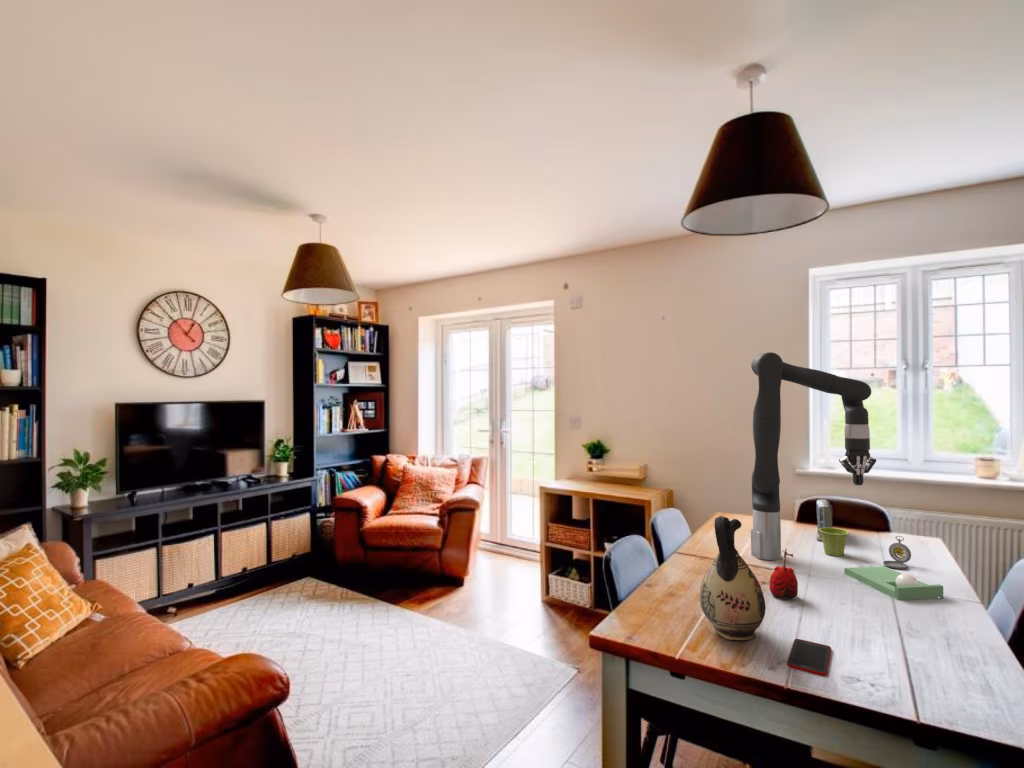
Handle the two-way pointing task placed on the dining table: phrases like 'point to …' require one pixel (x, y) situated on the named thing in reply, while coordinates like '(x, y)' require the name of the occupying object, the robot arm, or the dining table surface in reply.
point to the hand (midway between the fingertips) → (858, 484)
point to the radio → (823, 516)
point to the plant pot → (834, 540)
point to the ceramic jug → (731, 588)
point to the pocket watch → (899, 550)
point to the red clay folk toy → (784, 581)
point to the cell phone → (809, 657)
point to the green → (893, 583)
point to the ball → (906, 580)
